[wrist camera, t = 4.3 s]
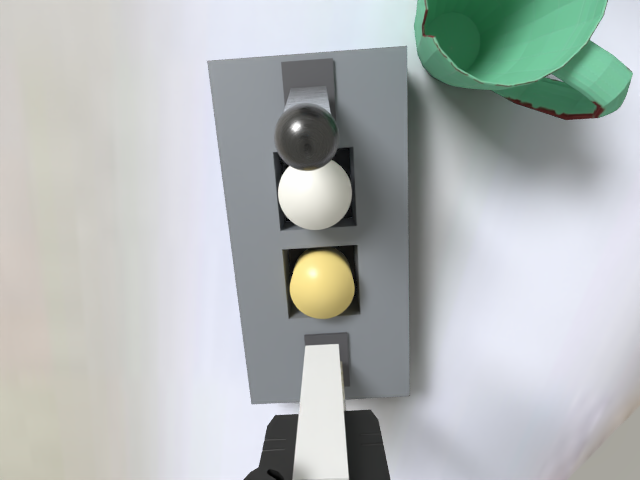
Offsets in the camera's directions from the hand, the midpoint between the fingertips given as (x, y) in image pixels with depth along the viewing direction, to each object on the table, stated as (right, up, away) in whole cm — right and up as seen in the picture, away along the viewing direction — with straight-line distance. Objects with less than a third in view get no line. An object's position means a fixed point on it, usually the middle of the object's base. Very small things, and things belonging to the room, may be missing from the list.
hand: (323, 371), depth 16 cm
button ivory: (0, +10, +11) cm, 14 cm away
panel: (0, +6, +16) cm, 17 cm away
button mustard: (0, +3, +14) cm, 14 cm away
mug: (+12, +20, +12) cm, 27 cm away
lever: (-1, +16, +8) cm, 18 cm away
